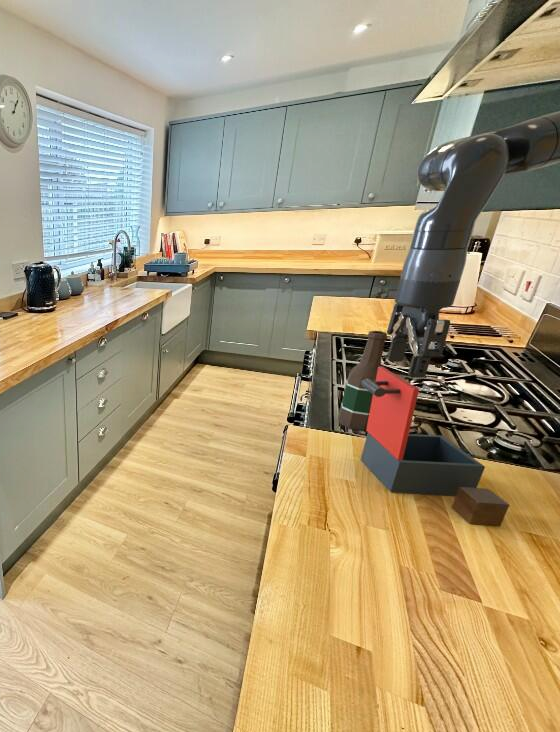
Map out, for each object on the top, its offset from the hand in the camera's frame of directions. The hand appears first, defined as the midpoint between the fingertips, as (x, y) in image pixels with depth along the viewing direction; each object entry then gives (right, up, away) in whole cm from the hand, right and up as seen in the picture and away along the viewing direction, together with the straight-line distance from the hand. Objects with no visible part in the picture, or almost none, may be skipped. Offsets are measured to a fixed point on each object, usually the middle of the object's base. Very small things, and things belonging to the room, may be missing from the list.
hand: (404, 368), depth 74 cm
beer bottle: (+14, -13, +31) cm, 36 cm away
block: (+11, -26, -2) cm, 28 cm away
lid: (+2, -8, +5) cm, 10 cm away
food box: (+10, -22, +10) cm, 26 cm away
